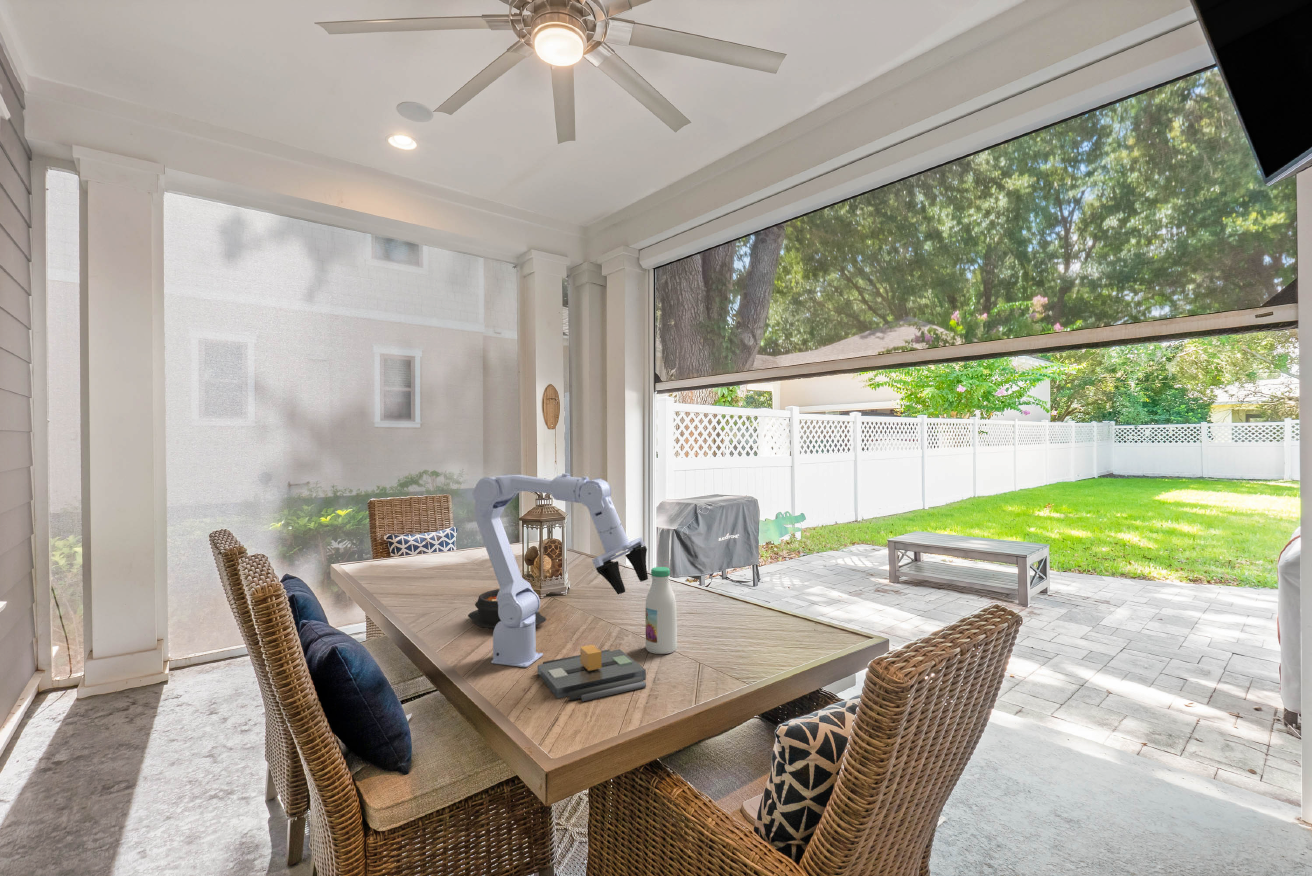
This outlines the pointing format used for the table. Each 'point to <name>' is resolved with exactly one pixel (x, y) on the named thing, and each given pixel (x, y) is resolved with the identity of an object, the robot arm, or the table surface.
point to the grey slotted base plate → (604, 686)
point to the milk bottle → (661, 614)
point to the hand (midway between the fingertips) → (633, 586)
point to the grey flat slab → (588, 673)
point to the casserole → (492, 611)
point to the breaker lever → (590, 657)
